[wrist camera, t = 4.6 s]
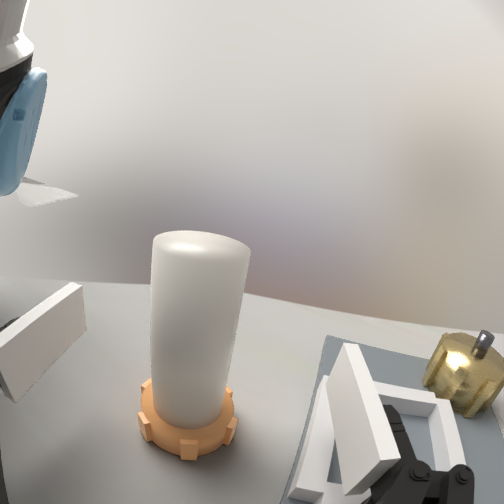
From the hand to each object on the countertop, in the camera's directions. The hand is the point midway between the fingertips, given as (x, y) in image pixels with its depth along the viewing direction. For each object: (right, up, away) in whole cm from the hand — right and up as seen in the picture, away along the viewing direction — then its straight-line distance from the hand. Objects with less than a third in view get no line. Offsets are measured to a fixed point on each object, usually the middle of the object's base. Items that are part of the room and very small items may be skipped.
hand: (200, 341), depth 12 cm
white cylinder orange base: (-2, -6, +2) cm, 7 cm away
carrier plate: (+15, -9, +3) cm, 18 cm away
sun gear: (+21, -9, +6) cm, 24 cm away
